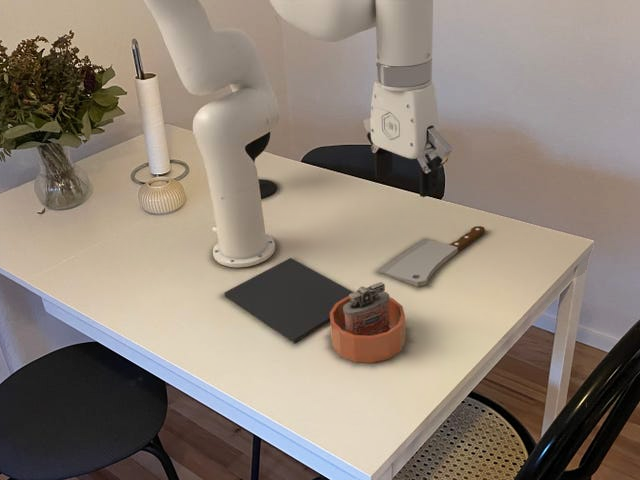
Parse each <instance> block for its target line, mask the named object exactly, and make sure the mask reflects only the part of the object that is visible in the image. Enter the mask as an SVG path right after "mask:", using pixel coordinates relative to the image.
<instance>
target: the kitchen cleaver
mask: <svg viewBox="0 0 640 480" xmlns="http://www.w3.org/2000/svg"><path fill="white" fill-rule="evenodd" d="M485 232H486V228H485V227H484V226H482V225H480V226H479V225H477V226H473V227H471V229H470V231H469V232H467V233H464V234H463V235H461V237H460V238H459V239H457V240H455V241H452V242H451V243H444V242H439V241H434V240H429V239H423V240H422V241H420V242H418V243H417V244H415V245H413V246H412V247H411V248H409V249H407V250H406V251H404V252H403V253H401V254H400V255H398V256H397V257H396V258H394V259H393V260H391V262H389V263H388V264H386V265H385V266H384V267H382V269H380V270H379V273H380V274H382V275H386V276H388V277H391V278H394V279H396V280H399V281H401V282H403V283H407V284H408V285H411V286H414V287H417V288H419V287H424V286H427V284H428V282H429V281H430V278H431V277H432V276H433V274H435V272H436V271H437V270H438V269H439V268H440V267H441V266H442V265H444V263H446V262H447V261H448V260H449V259H451V258H452V257H453V256H455V255H457V254H458V253H459V252H461V250H463V249H464V248H466V247H467V246H468V245H470V244H471V243H473V242H474V241H475V240H477V239H479V238H480V237H481V236H483V235H484V234H485Z"/></svg>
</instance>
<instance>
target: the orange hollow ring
mask: <svg viewBox="0 0 640 480" xmlns="http://www.w3.org/2000/svg"><path fill="white" fill-rule="evenodd" d="M389 297H390V300H389V302H388V304H389V325H392V326H393V327H392V328H390V330H389V331H387V332H384V333H380V334H376V335H372V336H367V335H354V334H351V333H349V332H346V330H344V329H342V328H343V327H346V326H345V314H344V312H343V306H344V305H345V304H347V303H349V302H350V296H348V297H346V298H344V299H342V300H341V301H339V302H337V303H336V304H335V305H334V307H333V308H332V310H331V312H330V323H329V324H330V337H331V344H332V345H331V346H332V349H334V350H335V351H336V352H337V354H338V355H340V357H342V358H344V359H347V360H349V361H352V362H354V363H365V364H366V363H367V364H375V363H378V362H382V361H385V360H390V359H391V358H392V357H394V356H395V355H397V354H398V353H400V352H401V351H402V349H403V347H404V344H405V342H406V314H405V310H404V307H403V305H402V304H401V303H399V301H397V300H396V299H395V298H393V297H391V296H389Z"/></svg>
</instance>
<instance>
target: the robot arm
mask: <svg viewBox="0 0 640 480" xmlns="http://www.w3.org/2000/svg"><path fill="white" fill-rule="evenodd" d="M268 1H269V2H270V5H271V6H272V7H273V9H274V11H275V12H276V13H277V15H278V16H279V17H280V18H282V20H284V21H285V22H287V23H288V24H290V25H291V26H292V27H294V28H296V29H298V30H299V31H301V32H303V33H305V34H306V35H308V36H310V37H312V38H314V39H317V40H320V41H321V42H322V41H323V42H327V43H335V42H336V43H337V42H341V41H343V40H346V39H348V38H350V37H352V36H355V35H357V34H359V33H361V32H364V31H367V30H369V29H370V30H371V29H373V28H375V33H376V35H375V36H376V62H375V65H376V68H377V71H376V72H377V78H376V79H375V80H374V83H373V87H372V94H371V103H370V117H367V118H365V119H363V120H362V121H363V127H364V128H365V132H366V138H367V140H368V141H369V143H370V145H371V146H370V149H371V152H372V153H373V154H374V177H375V178H378V179H380V178H382V177H384V176H387V175H389V174H391V173H393V170H394V169H393V154H395V155H398V156H400V157H403V158H406V159H408V160H415V159H417V162H418V163H419V165H420V167H421V169H422V170H421V171H420V172H419V196H420V197H421V198H426V197H428V196H430V195H432V194H435V193H436V192H438V189H439V169H441V168H442V166H443V165H444V164H446V163H447V162H448V158H449V157H450V156H451V153H452V151H453V146H452V145H451V143H449V141H448V140H447V139H446V138H445V137H444V136H443V135H442V134H441V133H440V131H439V112H438V102H437V101H438V100H437V93H436V88H435V84H434V83H433V34H434V33H433V32H434V31H433V29H434V27H433V23H434V0H268ZM143 2H144V4H145V5H146V7H147V9H148V10H149V12H150V14H151V15H152V17H153V19H154V20H155V22H156V25H157V27H158V29H159V31H160V34H161V36H162V39H163V41H164V43H165V46H166V48H167V51H168V53H169V56H170V59H171V61H172V63H173V65H174V67H175V70H176V72H177V75H178V77H179V80H180V82H181V84H182V85H183V87H184V88H185V90H186V91H187V92H189V93H190V94H192V95H194V96H205V95H209V94H212V93H215V92H217V91H220V90H221V89H224V88H226V87H229V88H230V89H231V92H230V93H227V94H225V95H223V96H221V97H218V98H216V99H214V100H212V101H210V102H208V103H206V104H205V105H204V106H202V107H201V108H199V110H198V111H197V112H196V114H195V115H194V117H193V121H192V132H193V136H194V139H195V141H196V144H197V147H198V148H199V152H200V155H201V158H202V161H203V165H204V169H205V173H206V178H207V184H208V188H209V193H210V200H211V205H212V212H213V217H214V222H215V225H214V226H213V227H212V228H211V229H212V230H211V231H212V232H213V233H214V234H216V236H217V243H215V245H214V246H213V248H212V254H213V258H214V260H215V261H216V262H217V263H218V264H220V265H222V266H225V267H229V268H247V267H248V268H249V267H252V266H256V265H259V264H262V263H264V262H265V261H266V260H268V259H270V257H272V256H273V254H274V253H275V250H276V243H275V241H274V239H273V237H271V236H270V235H268V234H267V233H266V226H265V225H266V224H265V219H264V211H263V203H262V199H261V195H260V188H259V180H258V179H259V175H258V169H257V165H256V162H255V163H254V162H253V160H252V159H251V158H250V156H249V155H248V154H247V153H246V151H245V146H246V145H247V144H249V143H251V142H252V141H254V140H256V139H258V138H260V137H261V136H263V135H265V134H267V133H268V132H270V133H271V132H272V131H273V130H274V129H275V128H276V127H277V125H278V123H279V121H280V120H279V119H280V109H279V108H280V107H279V103H278V100H277V97H276V94H275V90H274V88H273V86H272V83H271V80H270V78H269V75H268V72H267V70H266V66H265V64H264V61H263V58H262V56H261V54H260V51H259V49H258V46H257V45H256V43H255V42H254V40H253V39H252V37H250V35H248V33H246V32H245V31H244V30H242V29H240V28H237V27H225V28H222V29H218V30H216V31H214V29H213V27H212V25H211V23H210V20H209V17H208V15H207V12H206V10H205V8H204V6H203V4H202V3H201V2H200V0H143ZM426 155H428V157H429V159H430V161H428V159H427V157H426Z"/></svg>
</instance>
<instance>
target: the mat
mask: <svg viewBox="0 0 640 480" xmlns="http://www.w3.org/2000/svg"><path fill="white" fill-rule="evenodd" d="M351 293H354V291H352V290H350V289H349V288H346V287H345V286H343V285H341V284H339V283H337V282H336V281H334V280H332V279H330V278H328V277H326V276H325V275H323V274H321V273H319V272H317V271H315V270H314V269H312V268H311V267H308V266H306V265H305V264H302V263H301V262H299V261H297V260H295V259H294V258H292V257H289V258H287V259H286V260H284V261H282V262H280V263H278V264H276V265H273V266H272V267H270V268H269V269H267V270H264V271H262V272H261V273H259V274H257V275H254V276H253V277H251V278H249V279H247V280H246V281H243V282H242V283H240V284H238V285H236V286H234V287H232V288H230V289H229V290H226V291H224V297H225V298H227V299H229V300H230V301H231V302H233V303H235V304H236V305H238V306H239V307H240V308H242V309H244V310H245V311H246V312H248V313H250V314H251V316H254V317H255V318H257V319H258V320H260V321H261V322H263V323H264V324H266V325H267V326H268V327H270V328H272V330H274V331H276V332H277V333H279V334H280V335H282V336H283V337H285V338H286V339H288V340H289V341H291V342H292V343H294V344H296V343H298V342H299V341H301V340H302V339H303V338H305V337H308V335H310V334H312V333H313V332H315V331H317V330H318V329H320V328H322V327H324V326H325V325H326V324H327V325H328V323H329V322H330V312H331V310H332V308H333V307H334V305H335V304H336V303H337V302H339V301H341V300H342V299H344V298H346V297H348V296H349V295H350V294H351Z"/></svg>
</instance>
